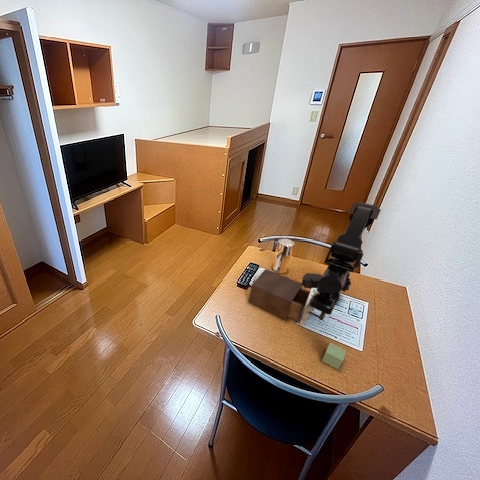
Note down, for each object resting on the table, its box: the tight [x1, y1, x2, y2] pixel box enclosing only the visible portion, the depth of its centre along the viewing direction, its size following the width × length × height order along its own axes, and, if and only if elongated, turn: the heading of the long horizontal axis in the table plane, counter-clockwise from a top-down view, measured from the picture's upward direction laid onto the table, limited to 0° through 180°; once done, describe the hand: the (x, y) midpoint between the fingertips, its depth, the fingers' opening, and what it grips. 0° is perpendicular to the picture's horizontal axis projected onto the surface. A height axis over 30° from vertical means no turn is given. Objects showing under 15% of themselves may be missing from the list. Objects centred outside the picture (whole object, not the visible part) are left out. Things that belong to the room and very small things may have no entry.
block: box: [321, 342, 347, 370], centre depth 81 cm, size 4×4×4 cm
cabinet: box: [248, 268, 303, 321], centre depth 102 cm, size 15×13×10 cm
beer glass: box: [272, 238, 296, 274], centre depth 118 cm, size 7×7×15 cm
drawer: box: [287, 287, 327, 327], centre depth 97 cm, size 18×11×8 cm, turn 48°
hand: (321, 310), depth 91 cm, fingers closed, pressing on drawer
